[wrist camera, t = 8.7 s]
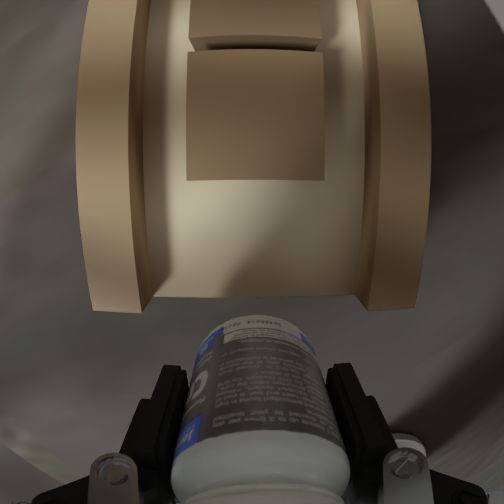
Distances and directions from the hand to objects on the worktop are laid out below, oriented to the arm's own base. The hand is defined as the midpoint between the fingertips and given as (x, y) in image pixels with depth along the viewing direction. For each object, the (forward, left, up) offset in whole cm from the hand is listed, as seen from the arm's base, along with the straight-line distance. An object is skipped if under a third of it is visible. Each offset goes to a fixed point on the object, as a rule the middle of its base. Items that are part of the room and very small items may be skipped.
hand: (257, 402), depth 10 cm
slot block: (+10, 0, -8) cm, 13 cm away
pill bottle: (0, 0, -2) cm, 2 cm away
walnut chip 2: (+9, 0, -3) cm, 10 cm away
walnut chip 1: (+14, 0, -3) cm, 14 cm away
